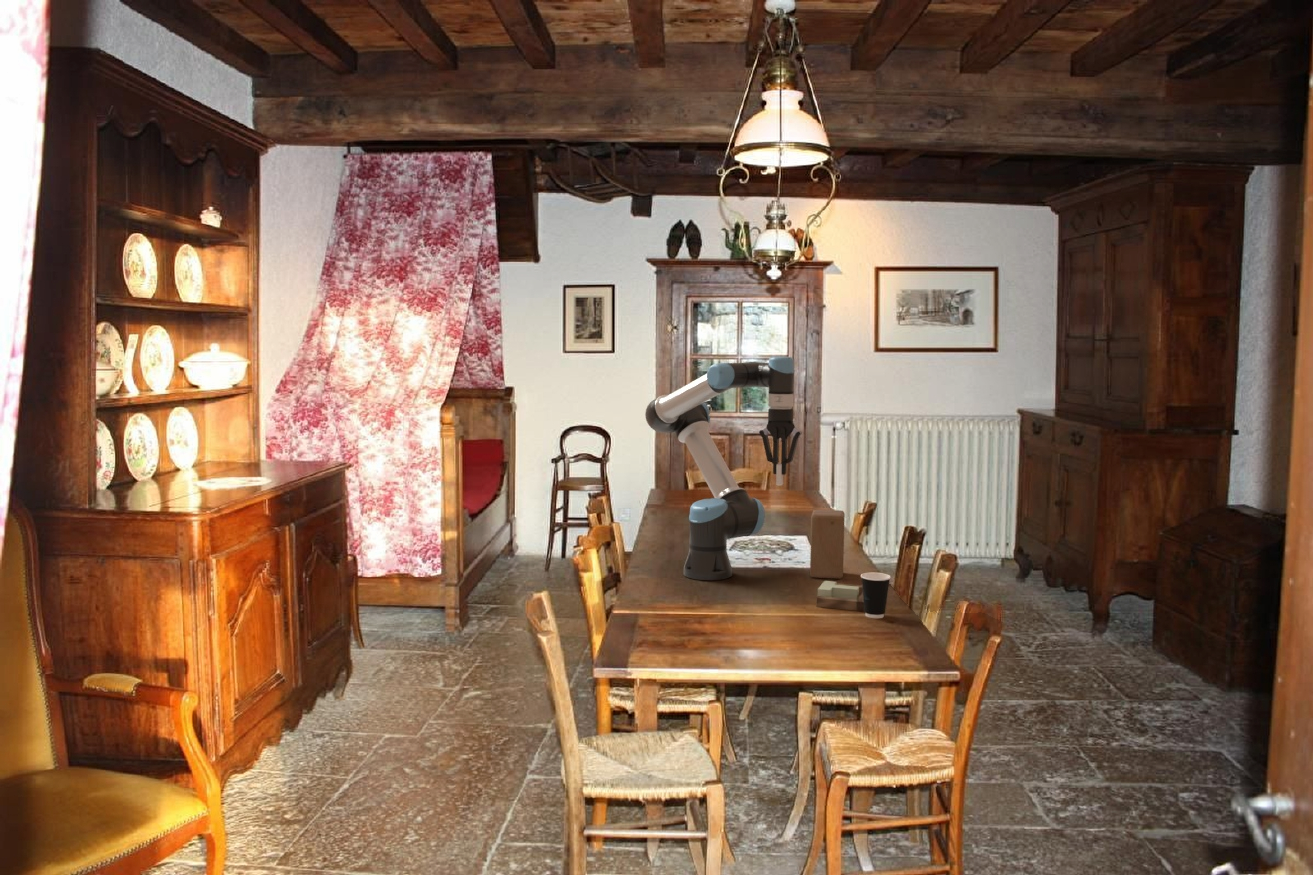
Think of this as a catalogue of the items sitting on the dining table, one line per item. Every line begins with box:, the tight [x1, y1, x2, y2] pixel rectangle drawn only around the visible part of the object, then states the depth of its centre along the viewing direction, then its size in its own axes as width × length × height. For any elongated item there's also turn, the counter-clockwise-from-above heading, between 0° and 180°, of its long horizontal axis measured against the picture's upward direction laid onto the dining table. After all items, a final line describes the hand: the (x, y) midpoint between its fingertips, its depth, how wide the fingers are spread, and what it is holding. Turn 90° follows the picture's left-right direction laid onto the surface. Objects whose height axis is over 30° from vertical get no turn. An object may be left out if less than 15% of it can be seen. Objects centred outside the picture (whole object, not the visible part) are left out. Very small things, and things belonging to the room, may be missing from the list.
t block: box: [817, 580, 860, 600], centre depth 284 cm, size 10×10×4 cm
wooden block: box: [809, 509, 846, 580], centre depth 312 cm, size 10×10×20 cm
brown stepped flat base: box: [816, 582, 864, 612], centre depth 283 cm, size 13×18×2 cm
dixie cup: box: [860, 572, 891, 619], centre depth 268 cm, size 8×8×11 cm
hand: (779, 485), depth 304 cm, fingers closed
